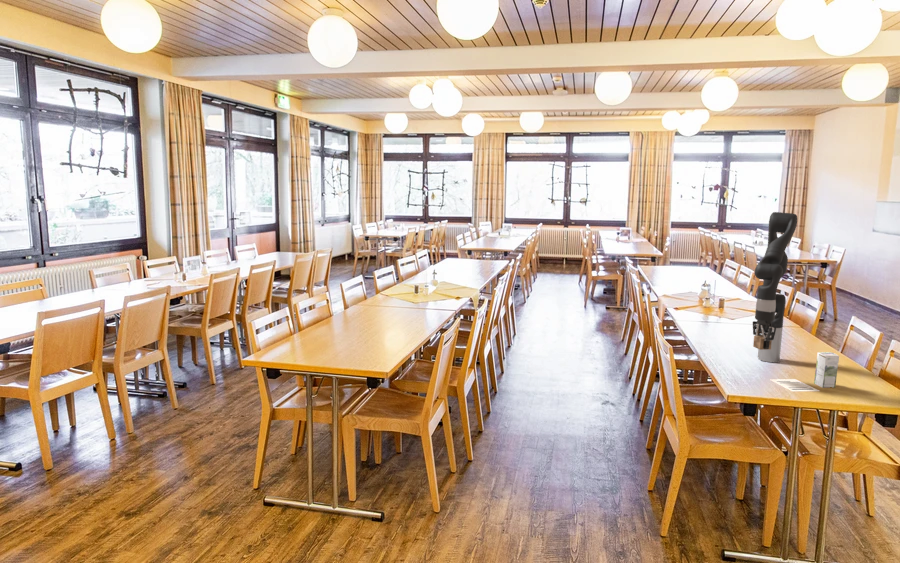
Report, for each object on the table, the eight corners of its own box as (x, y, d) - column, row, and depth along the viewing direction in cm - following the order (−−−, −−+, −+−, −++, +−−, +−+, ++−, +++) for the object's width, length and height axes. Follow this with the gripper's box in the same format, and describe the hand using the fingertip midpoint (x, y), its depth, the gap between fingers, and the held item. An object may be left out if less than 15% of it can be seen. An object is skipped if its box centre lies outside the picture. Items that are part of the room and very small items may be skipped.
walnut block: (753, 346, 258) (754, 335, 258) (764, 346, 259) (765, 335, 258) (759, 349, 253) (760, 338, 253) (770, 349, 254) (771, 338, 253)
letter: (769, 380, 257) (769, 379, 257) (795, 379, 258) (795, 379, 258) (792, 392, 242) (792, 391, 242) (820, 391, 242) (820, 391, 242)
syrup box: (826, 383, 253) (829, 351, 250) (835, 388, 247) (839, 355, 245) (813, 384, 252) (817, 351, 250) (822, 388, 247) (826, 355, 244)
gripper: (747, 306, 260) (744, 343, 263) (766, 312, 246) (763, 351, 249) (764, 306, 261) (760, 343, 263) (784, 312, 247) (780, 351, 249)
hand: (762, 347), depth 256 cm, fingers closed on walnut block, 5 cm apart
